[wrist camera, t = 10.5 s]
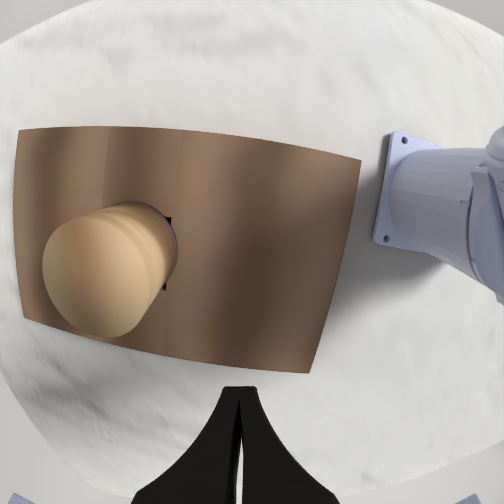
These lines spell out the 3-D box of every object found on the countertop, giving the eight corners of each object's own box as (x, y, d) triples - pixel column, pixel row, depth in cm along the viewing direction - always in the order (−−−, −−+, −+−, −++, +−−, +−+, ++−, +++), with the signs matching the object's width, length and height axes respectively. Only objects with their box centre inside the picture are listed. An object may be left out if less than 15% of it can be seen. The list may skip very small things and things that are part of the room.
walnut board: (344, 161, 18) (361, 160, 15) (302, 349, 22) (309, 373, 19) (42, 132, 17) (18, 130, 14) (43, 302, 20) (24, 317, 18)
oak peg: (191, 201, 18) (152, 226, 10) (182, 283, 20) (148, 350, 12) (112, 192, 18) (39, 210, 10) (109, 270, 19) (48, 323, 12)
